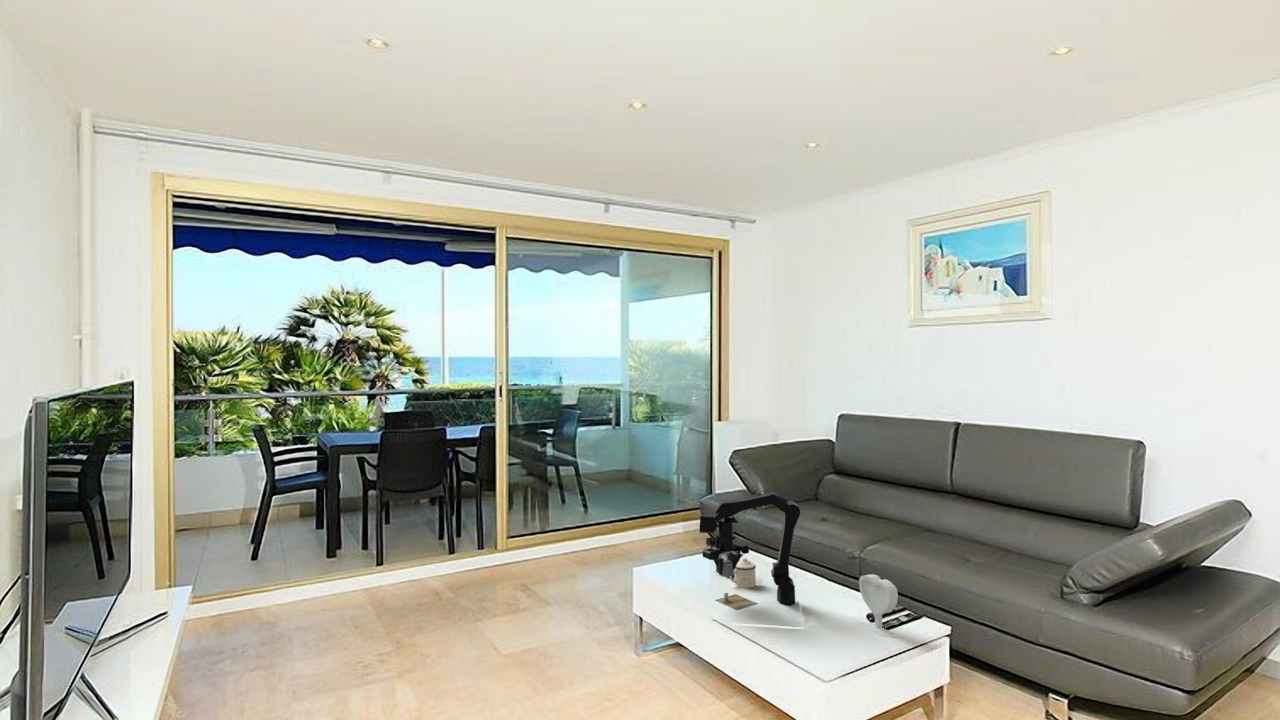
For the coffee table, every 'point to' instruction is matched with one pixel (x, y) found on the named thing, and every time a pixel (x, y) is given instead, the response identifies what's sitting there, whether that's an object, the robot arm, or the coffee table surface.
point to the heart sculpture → (878, 600)
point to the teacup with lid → (744, 574)
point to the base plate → (736, 601)
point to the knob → (727, 568)
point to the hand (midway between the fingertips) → (726, 573)
